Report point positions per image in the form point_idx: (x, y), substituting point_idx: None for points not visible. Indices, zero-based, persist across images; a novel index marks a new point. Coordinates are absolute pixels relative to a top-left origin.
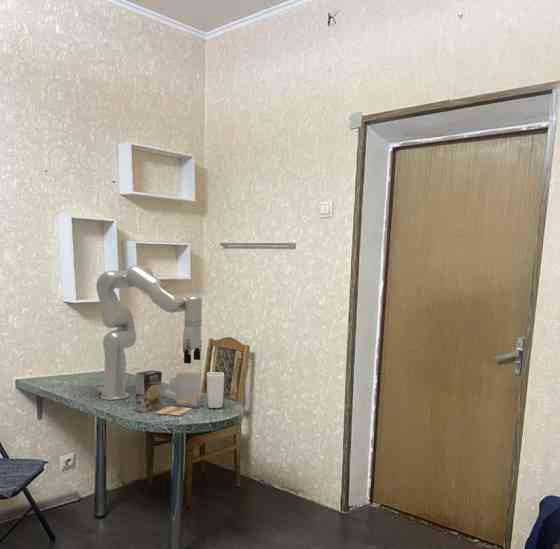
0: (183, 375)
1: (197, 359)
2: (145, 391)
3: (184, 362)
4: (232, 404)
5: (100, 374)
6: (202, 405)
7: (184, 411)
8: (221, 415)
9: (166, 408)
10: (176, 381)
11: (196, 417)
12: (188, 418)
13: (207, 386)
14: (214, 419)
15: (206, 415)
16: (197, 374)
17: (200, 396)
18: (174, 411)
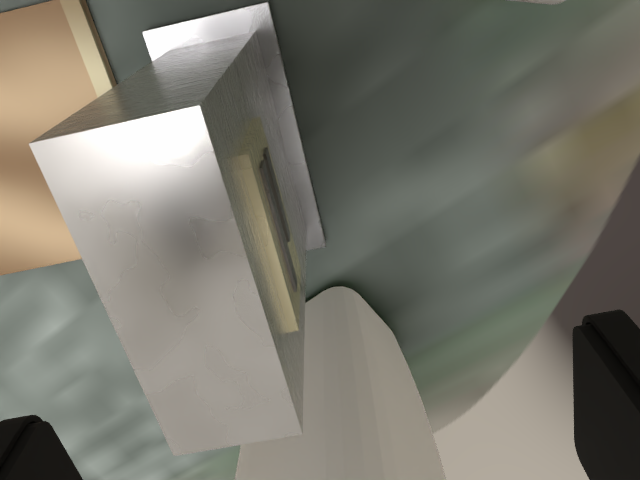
0: (95, 265)
1: (577, 416)
2: None
3: (2, 437)
4: (466, 382)
5: None
6: (311, 245)
7: (71, 246)
8: (196, 452)
9: (23, 55)
10: (85, 110)
11: (57, 366)
12: (2, 340)
13: (244, 449)
14: (104, 461)
15: (136, 389)
16: (230, 427)
17: (304, 266)
18: (12, 182)
